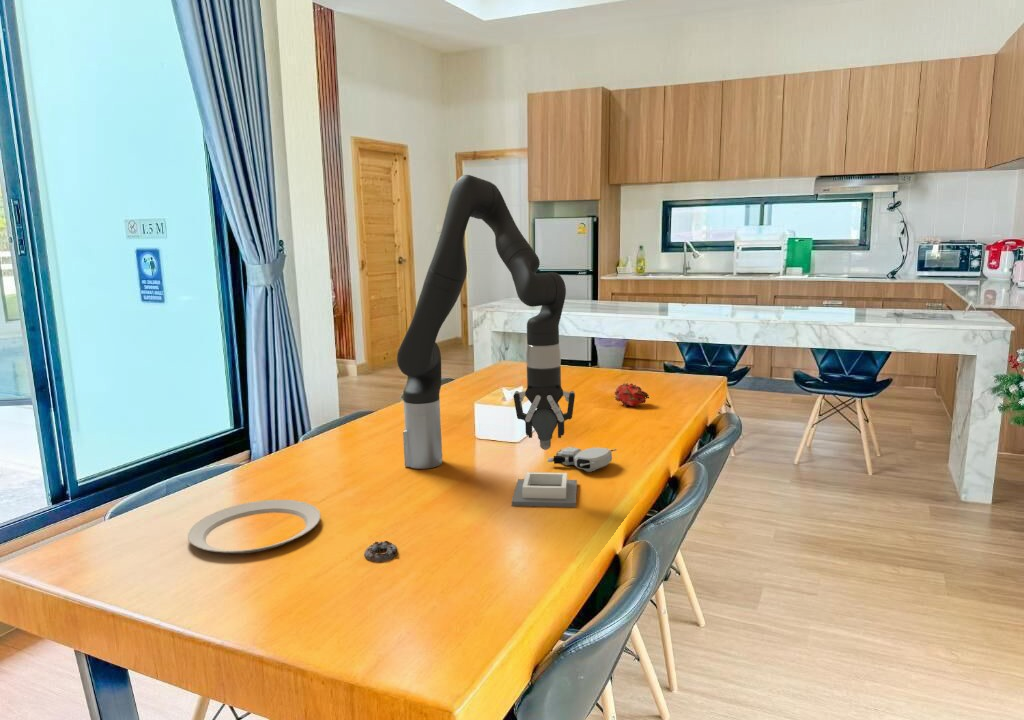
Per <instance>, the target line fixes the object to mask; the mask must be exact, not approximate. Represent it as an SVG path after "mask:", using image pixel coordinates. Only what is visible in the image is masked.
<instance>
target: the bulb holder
mask: <svg viewBox="0 0 1024 720" xmlns="http://www.w3.org/2000/svg"><path fill="white" fill-rule="evenodd" d="M577 491H578V480H577V479H568V472H527V471H526V472H525V476H524V478H518V479H517V483H516V485H515V489H514V492H513V496H512V499H511V506H512V507H513V506H514V507H515V506H516V507H551V508H553V507H554V508H556V507H558V508H576V507H577Z"/></svg>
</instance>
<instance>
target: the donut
mask: <svg viewBox="0 0 1024 720" xmlns="http://www.w3.org/2000/svg"><path fill="white" fill-rule="evenodd" d="M398 550H399V549H398V547H397V546H396V544H395V543H394V544H393V543H392V542H390V541H388V540H384V541H375V542H374V543H372V544H370V545H369V546H368V547H367V548H366V549H365V551H364V554H363V555H364V557H365V559H367V560H368V561H371V562H378V563H381V562H382V563H383V562H387V561H390V560H392V559H393V558H394V557H395V556H396V555H397V554H398ZM381 552H384V553H381Z"/></svg>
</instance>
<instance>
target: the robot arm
mask: <svg viewBox="0 0 1024 720" xmlns="http://www.w3.org/2000/svg"><path fill="white" fill-rule="evenodd" d="M470 218H472V219H473V218H474V219H477V220H482V221H483V222H484V223H485V224H486V225H487V226H488V227H489V228H490V229H491V230H492V232H493V234H494V237H495V238H494V240H495V243H494V244H495V248H496V252H497V254H498V255H499V258H500V259H501V261H502V262H503V263H504V265H505V267H506V269H508V271H509V272H510V275H511V279H512V281H513V283H514V288H515V290H516V294H517V297H518V299H519V300H520V301H521V302H522V303H523V304H524V305H526V306H527V307H531V308H533V307H541V308H540V311H539V313H538V314H536V315H535V316H532V317H530V318H529V319H528V320H527V322H526V345H527V346H526V354H525V355H526V390H525V391H518V390H517V391H514V393H513V396H512V397H513V402H514V406H515V407H514V408H515V412H516V417H517V418H516V419H518V420H522V421H524V422H525V423H524V424H525V425H524V426H525V435H526V436H528V438H529V439H532V438H533V426H532V423H531V418H532V416H533V414H534V412H535V410H536V409H544V408H545V409H553V411H554V413H555V414H556V416H557V418H558V424H557V439H562V436H564V434H565V421H567V420H572V419H573V413H574V405H575V398H576V393H575V391H574V390H571V391H565V390H563V388H562V380H561V379H562V371H561V370H562V369H561V362H562V359H561V349H560V328H559V327H560V321H561V317H562V314H563V309H564V305H565V300H566V295H567V290H566V287H567V286H566V283H565V281H564V279H563V277H562V276H561V275H560V274H559V273H557V272H553V271H552V272H551V271H549V272H540V273H538V270H539V268H540V263H541V262H540V258H539V257H538V254H537V253H536V252H535V250H534V249H533V248H532V246H531V245H530V244H529V242H528V241H527V239H526V238H525V237H524V235H523V234H522V232H521V231H520V229H519V227H518V226H517V223H516V221H515V220H514V218H513V216H512V213H511V211H510V210H509V208H508V206H507V204H506V200H505V199H504V197H503V195H502V193H501V191H500V190H499V188H498V186H497V185H496V184H495V183H492V182H491V181H489V180H485V179H483V178H480V177H477V176H474V175H470V174H464V175H461V176H460V177H458V179H457V180H456V182H455V183H454V185H453V187H452V189H451V192H450V194H449V198H448V202H447V207H446V211H445V216H444V218H443V223H442V228H441V231H440V234H439V237H438V241H437V244H436V246H435V247H436V248H435V250H434V253H433V257H432V258H431V261H430V265H429V267H428V270H427V272H426V274H425V279H424V281H423V285H422V288H421V291H420V293H419V296H418V300H417V304H416V305H415V306H416V307H415V311H414V315H413V316H412V320H411V321H410V324H409V327H408V329H407V331H406V333H405V335H404V337H403V340H402V341H401V344H400V345H399V348H398V350H397V354H396V363H397V366H398V368H399V370H400V371H401V373H402V374H404V375H405V376H407V380H406V384H405V387H404V390H403V397H402V398H403V414H404V428H405V429H404V430H402V436H403V437H402V438H403V455H404V456H403V457H404V458H403V459H404V467H405V468H406V467H407V468H411V469H415V470H416V469H417V470H420V469H421V470H424V469H425V470H426V469H431V468H432V469H433V468H437V467H438V466H441V465H443V446H442V444H443V443H442V425H441V424H442V423H441V403H440V399H441V398H440V392H441V388H442V356H441V355H442V354H441V350H440V347H439V345H438V344H437V342H436V341H437V338H438V334H439V332H440V329H441V328H442V325H443V324H444V322H445V321H446V319H447V317H448V316H449V315H450V313H451V312H452V310H453V308H454V306H455V305H456V303H457V301H458V299H459V297H460V294H461V291H462V288H463V285H464V283H465V281H466V279H467V278H466V277H467V274H468V273H467V272H468V268H467V267H468V266H467V264H468V263H467V257H466V251H465V241H464V240H465V233H466V230H467V226H468V223H469V221H470ZM536 272H537V273H536ZM525 397H526V398H527V400H528V401H529V402H530V404H531V405H530V407H529V409H528V411H527V413H525V412H524V410H523V404H522V402H524V398H525ZM562 397H564V399H565V401H566V402H568V403H567V410H566V411H567V412H565V413H563V410H562V407H561V406H560V403H559V402H560V401H561V400H562Z"/></svg>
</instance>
